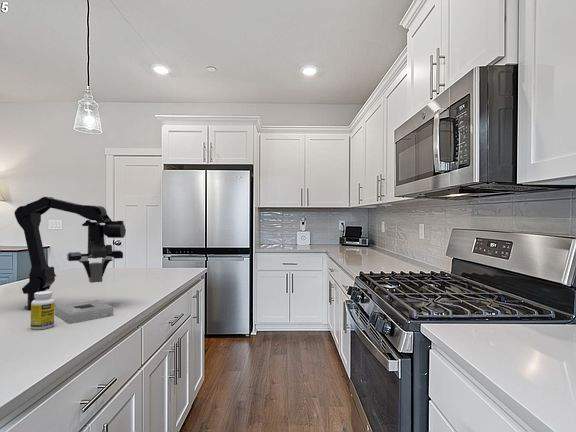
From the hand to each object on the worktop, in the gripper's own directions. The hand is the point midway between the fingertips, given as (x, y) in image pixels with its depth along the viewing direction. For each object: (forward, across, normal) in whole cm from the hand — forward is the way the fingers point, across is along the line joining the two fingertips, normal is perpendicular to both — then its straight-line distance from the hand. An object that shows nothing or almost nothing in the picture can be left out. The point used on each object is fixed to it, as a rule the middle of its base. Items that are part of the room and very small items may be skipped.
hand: (95, 277), depth 139 cm
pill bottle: (+12, -18, -19) cm, 29 cm away
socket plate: (+12, -5, -11) cm, 17 cm away
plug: (+2, 0, 0) cm, 2 cm away
